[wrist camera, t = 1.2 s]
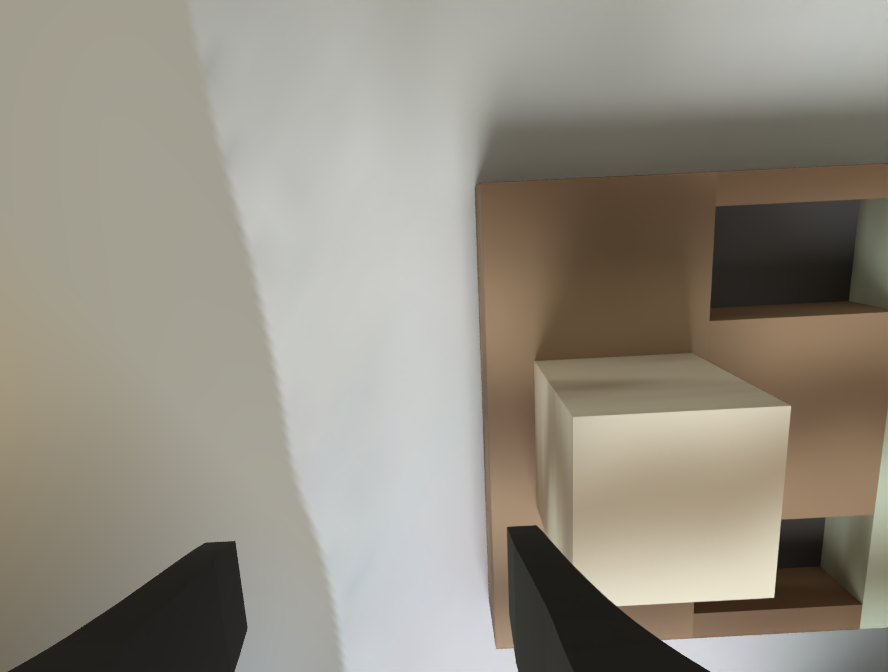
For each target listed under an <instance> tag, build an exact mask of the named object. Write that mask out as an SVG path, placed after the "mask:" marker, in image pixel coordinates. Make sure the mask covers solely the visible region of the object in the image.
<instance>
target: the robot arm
mask: <svg viewBox="0 0 888 672" xmlns="http://www.w3.org/2000/svg"><path fill="white" fill-rule="evenodd" d="M507 554H508V593H509V617H510V624H511V631H512V638H513V645H514V651H515V658H516V664H517V668H518V672H710V671H708V670H707V669H705V668H703V667H702V666H700V665H698V664H697V663H695V662H693V661H692V660H690V659H689V658H687V657H685V656H684V655H682V654H681V653H679V652H678V651H676V650H675V649H673V648H672V647H670V646H668V645H667V644H666V643H664V642H663V641H661V640H660V639H659V638H657V637H656V636H655V635H653V634H652V633H650V632H649V631H648V630H646V629H645V628H643V627H642V626H641V625H639V624H638V623H637V622H635V621H634V620H633V619H632V618H630V617H629V616H628V615H627V614H625V613H624V612H623V611H622V610H621V609H619V608H618V607H617V606H616V605H615V604H614V603H612V602H611V601H610V600H609V599H608V598H607V597H606V596H604V595H603V594H602V593H601V592H600V591H599V590H598V589H597V588H596V587H595V586H594V585H593V584H592V583H591V582H590V581H589V580H588V579H587V578H586V577H585V576H584V575H583V574H582V573H581V572H580V571H579V570H578V569H577V568H576V567H575V566H574V565H573V564H572V563H571V562H570V561H569V560H568V559H567V558H566V557H565V556H564V555H563V554H562V552H561V551H560V550H559V549H558V548H557V547H556V546H555V545H554V544H553V542H552V541H551V540H550V539H549V538H548V537H547V536H546V534H545V533H544V532H543V531H542V530H541V529H540V528H539V527H538V526H537V525H531V526H512V527H507ZM246 632H247V622H246V615H245V607H244V600H243V593H242V586H241V579H240V572H239V564H238V557H237V550H236V543H235V541H231V542H230V541H229V542H211V543H204V544H203V545H201V546H199V547H198V548H196V549H194V550H193V551H191V552H190V553H188V554H187V555H185V556H184V557H183V558H181V559H180V560H178V561H177V562H175V563H174V564H173V565H171V566H170V567H168V568H167V569H166V570H164V571H163V572H162V573H160V574H159V575H157V576H156V577H154V578H153V579H152V580H150V581H149V582H147V583H146V584H145V585H143V586H142V587H141V588H139V589H138V590H136V591H135V592H133V593H132V594H131V595H129V596H128V597H126V598H125V599H124V600H122V601H121V602H119V603H118V604H116V605H115V606H113V607H112V608H110V609H109V610H107V611H106V612H105V613H103V614H101V615H100V616H98V617H97V618H95V619H93V620H92V621H91V622H89V623H88V624H86V625H84V626H83V627H81V628H80V629H78V630H77V631H75V632H74V633H72V634H71V635H69V636H68V637H66V638H65V639H63V640H61V641H60V642H58V643H57V644H55V645H53V646H52V647H50V648H48V649H47V650H45V651H43V652H42V653H40V654H38V655H37V656H35V657H33V658H31V659H30V660H28V661H26V662H24V663H23V664H21V665H19V666H17V667H15V668H14V669H12V670H10V671H8V672H234V671H235V668H236V665H237V662H238V659H239V656H240V652H241V648H242V645H243V642H244V638H245V635H246Z"/></svg>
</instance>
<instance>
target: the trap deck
mask: <svg viewBox="0 0 888 672" xmlns="http://www.w3.org/2000/svg"><path fill="white" fill-rule="evenodd" d="M475 208H476V237H477V265H478V294H479V323H480V352H481V381H482V409H483V438H484V467H485V496H486V524H487V553H488V582H489V604H490V611H491V618H492V625H493V631H494V638H495V645H496V649H506V648H514V645H513V638H512V631H511V624H510V617H509V593H508V554H507V527H512V526H531V525H537V526H538V527H539V528H540V529H541V530H542V531H543V532H544V533H545V534H546V532H545V529H544V526H543V523H542V521H541V518H540V515H539V512H538V509H537V506H536V453H535V380H534V361H545V360H565V359H585V358H604V357H624V356H644V355H664V354H683V353H693V354H695V355H697V356H699V357H700V358H702V359H704V360H706V361H708V362H710V363H712V364H714V365H715V366H717V367H719V368H721V369H723V370H725V371H727V372H729V373H730V374H732V375H734V376H736V377H738V378H740V379H742V380H744V381H745V382H747V383H749V384H751V385H753V386H755V387H757V388H759V389H761V390H762V391H764V392H766V393H768V394H770V395H772V396H774V397H776V398H777V399H779V400H781V401H783V402H785V403H787V404H789V405H791V414H790V425H789V436H788V448H787V459H786V470H785V481H784V493H783V504H782V515H781V526H780V538H779V549H778V560H777V571H776V583H775V594H774V598H760V599H742V600H723V601H705V602H687V603H668V604H650V605H631V606H617V607H618V608H619V609H621V610H622V611H623V612H624V613H625V614H627V615H628V616H629V617H630V618H632V619H633V620H634V621H635V622H637V623H638V624H639V625H641V626H642V627H643V628H645V629H646V630H648V631H649V632H650V633H652V634H653V635H655V636H656V637H657V638H659V639H660V640H670V639H689V638H707V637H725V636H743V635H762V634H780V633H798V632H816V631H835V630H853V629H871V628H888V163H884V164H863V165H843V166H822V167H801V168H781V169H760V170H739V171H719V172H698V173H677V174H657V175H636V176H615V177H594V178H574V179H553V180H532V181H512V182H491V183H480V184H479V185H477V186H476V187H475ZM546 536H547V535H546Z"/></svg>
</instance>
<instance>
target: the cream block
mask: <svg viewBox="0 0 888 672" xmlns="http://www.w3.org/2000/svg"><path fill="white" fill-rule="evenodd" d="M534 380H535V453H536V506H537V509H538V512H539V515H540V518H541V521H542V523H543V526H544V529H545V532H546V535H547V537H548V538H549V539H550V540H551V541H552V542H553V544H554V545H555V546H556V547H557V548H558V549H559V550H560V551H561V552H562V554H563V555H564V556H565V557H566V558H567V559H568V560H569V561H570V562H571V563H572V564H573V565H574V566H575V567H576V568H577V569H578V570H579V571H580V572H581V573H582V574H583V575H584V576H585V577H586V578H587V579H588V580H589V581H590V582H591V583H592V584H593V585H594V586H595V587H596V588H597V589H598V590H599V591H600V592H601V593H602V594H603V595H604V596H606V597H607V598H608V599H609V600H610V601H611V602H612V603H614V604H615V605H616V606H631V605H650V604H668V603H687V602H705V601H723V600H742V599H760V598H774V594H775V583H776V571H777V560H778V549H779V538H780V526H781V515H782V504H783V493H784V481H785V470H786V459H787V448H788V436H789V425H790V414H791V405H789V404H787V403H785V402H783V401H781V400H779V399H777V398H776V397H774V396H772V395H770V394H768V393H766V392H764V391H762V390H761V389H759V388H757V387H755V386H753V385H751V384H749V383H747V382H745V381H744V380H742V379H740V378H738V377H736V376H734V375H732V374H730V373H729V372H727V371H725V370H723V369H721V368H719V367H717V366H715V365H714V364H712V363H710V362H708V361H706V360H704V359H702V358H700V357H699V356H697V355H695V354H693V353H683V354H664V355H644V356H624V357H604V358H585V359H565V360H545V361H534Z"/></svg>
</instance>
